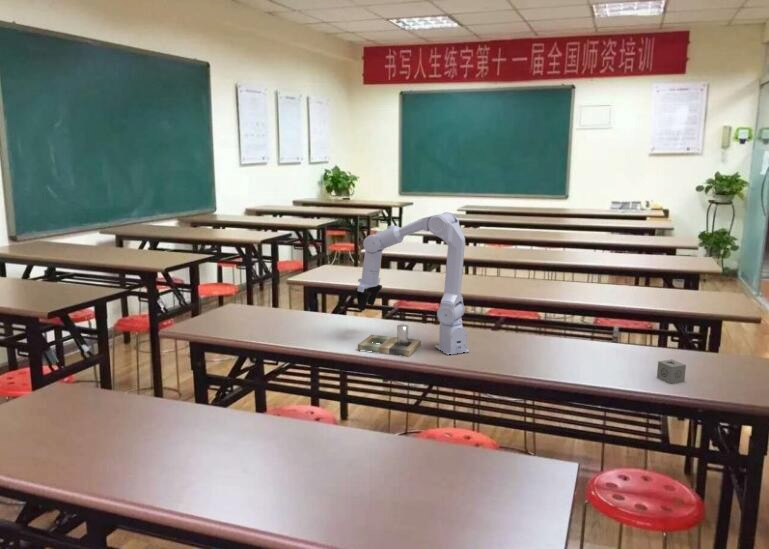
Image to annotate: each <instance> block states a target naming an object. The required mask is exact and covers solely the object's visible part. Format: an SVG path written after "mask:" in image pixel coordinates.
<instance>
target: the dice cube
mask: <svg viewBox="0 0 769 549" xmlns="http://www.w3.org/2000/svg"><path fill="white" fill-rule="evenodd" d="M686 368H687V365H686V364H685V363H683V362H680V361H678V360H675V359H666V360H659V361H658V360H657V370H656V371H657V372H656V373H657V374H656V379H658V380H660V381H663V382H665V383H667V384H669V385H673V384H679V382H680V383H684V382H685V379H686V378H685V377H686Z"/></svg>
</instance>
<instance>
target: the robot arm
mask: <svg viewBox="0 0 769 549" xmlns="http://www.w3.org/2000/svg"><path fill="white" fill-rule="evenodd" d="M420 231H425V232H426V233H427V232H430V233H431V234H432V235H434V236H436V237H438V238H440V239H441V240H442V241H444V243H445V244H446V245H447V253H446V254H447V255H446V265H445V266H446V268H445V281H444V290H443V291H444V292H443V295H442V298H441V301H440V305H439V307H438V309H437V311H436V316H437V319H438V322H439V338H438V339H439V344H435V345H434V348H436V349H438V350H439V351H440V350H441V352H442V351H443V352H442V353H444V354H445V353H446V354H445V355H447V356H450V355H449V354H451V355H457V353H458V354H464V353H463V352H465V353H469V352H470V350H469V349H468V346H467V345H468V333H467V330H466V329H465V328H464V327H463V326H464V325H463V320H462V317H463V316H464V314H465V310H466V308H465V305H464V297H463V296H462V292H461V290H462V281H463V268H464V259H465V258H464V257H465V248H466V238H465V236H464V233H463V230H462V227H461V225H460V220H459V219H458V218H457V216H455V215H454V214H453V213H451V212H448V211H447V212H443V213H439V214H434V215H429V216H425V217H421V218H419V219H417V220H415V221H413V222H410V223H408V224H406V225H404V226H401V227H400V226H398V225H394V226H393V224H391V225H388V226H387V228H386V229H384V230H378V231H375V234H370V235H367V236H366V237H365V238H364V239H363V244H362V245H363V246H362V247H363V249H364V250H365V251H364V255H363V256H364V259H363V263H362V273H361V278H358V279H357V282H359V284H358V285H357V287H355V289H354V294H355V297H356V302H357V308H358V310H360V311H362V312H365V310H366V308H367V305H370V306H374V305H375V302H376V299H377V296H378V294H379V293H380V291H381V290H382V288H383V285H381V284H380V283H381V282H380V281H381V278H380V269H381V262H382V256H383V251H384V250H385V249H388V248H390V247H392V246H395V245H397V244H400V243H402V242H403V241H404V238H405V237H407V236H409V235H412V234H415V233H418V232H420Z"/></svg>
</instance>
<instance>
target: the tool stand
mask: <svg viewBox="0 0 769 549" xmlns="http://www.w3.org/2000/svg"><path fill="white" fill-rule="evenodd" d="M372 342H373V343H372ZM376 343H380V344H376ZM421 346H422V339H416V338H408V347H405V346H397V336H388V335H382V334H381V335H379V334H370V335H369V336H368V337H366V338H365V339H363V340H362V341H360V342H359V343H358V344H357V351H358V350H365V351H372V352H371V353H374V352H379V353H378V354H382V353H385V354H384V355H391V354H394V355H393V356H399V355H401V357H407V356H409V358H410V357H411V356H412V355H414V353H415V352H416V351H418V349H419V348H421ZM365 351H364V352H365Z"/></svg>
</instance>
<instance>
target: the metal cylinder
mask: <svg viewBox="0 0 769 549" xmlns="http://www.w3.org/2000/svg"><path fill="white" fill-rule="evenodd" d="M396 326H397V327H396V329H397V330H396V335H397V336H396V337H397V346H405V347H408V339H409V325H408V324H405V323H404V324H403V323H402V324H398V325H396Z"/></svg>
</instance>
